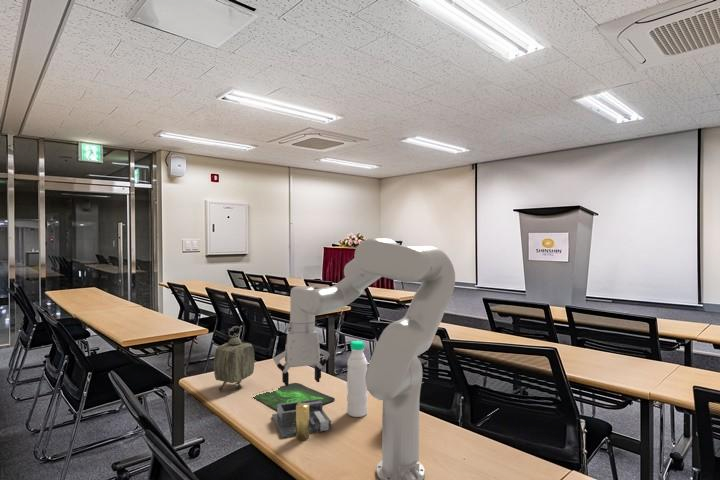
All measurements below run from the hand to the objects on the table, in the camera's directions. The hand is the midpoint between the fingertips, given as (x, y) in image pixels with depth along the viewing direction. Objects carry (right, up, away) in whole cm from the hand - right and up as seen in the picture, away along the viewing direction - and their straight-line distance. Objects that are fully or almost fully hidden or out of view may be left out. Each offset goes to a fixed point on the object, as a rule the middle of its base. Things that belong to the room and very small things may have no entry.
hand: (301, 382), depth 127 cm
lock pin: (+5, -16, +7) cm, 18 cm away
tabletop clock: (-33, -17, +42) cm, 56 cm away
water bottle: (+17, -17, +17) cm, 30 cm away
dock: (-2, -17, +10) cm, 20 cm away
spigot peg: (0, -17, 0) cm, 17 cm away
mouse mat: (-8, -17, +31) cm, 36 cm away
